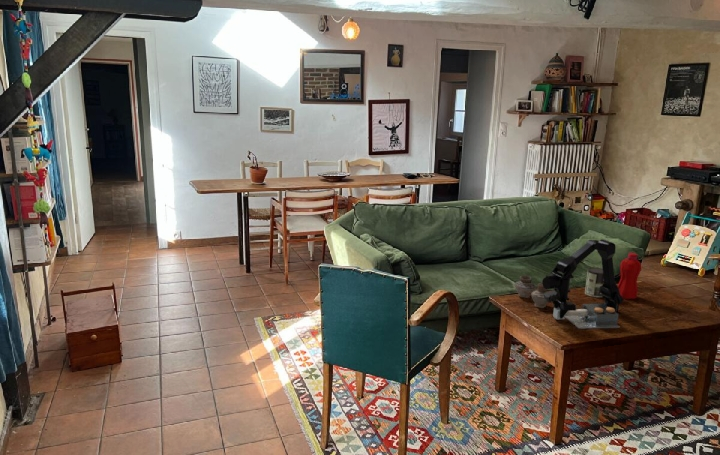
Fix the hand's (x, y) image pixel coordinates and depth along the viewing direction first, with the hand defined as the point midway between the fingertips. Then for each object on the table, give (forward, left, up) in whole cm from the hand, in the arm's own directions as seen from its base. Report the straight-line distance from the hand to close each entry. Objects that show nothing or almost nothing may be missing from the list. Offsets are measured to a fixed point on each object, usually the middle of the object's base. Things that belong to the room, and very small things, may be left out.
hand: (558, 316), depth 261 cm
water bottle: (-52, -27, -2) cm, 59 cm away
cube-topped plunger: (-8, 0, -1) cm, 8 cm away
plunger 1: (-16, +7, +3) cm, 18 cm away
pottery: (+3, -25, -2) cm, 25 cm away
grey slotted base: (-15, +3, -2) cm, 16 cm away
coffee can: (-37, -32, -2) cm, 49 cm away
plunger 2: (-22, +7, +3) cm, 23 cm away
